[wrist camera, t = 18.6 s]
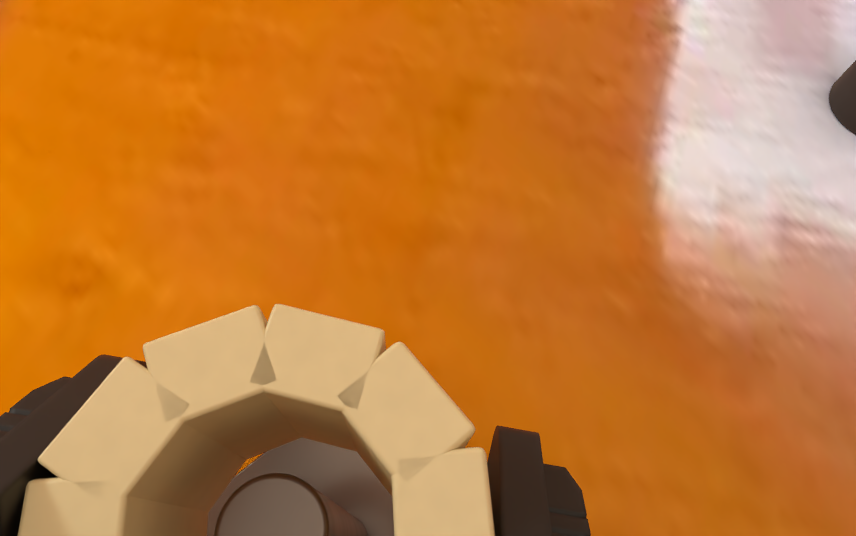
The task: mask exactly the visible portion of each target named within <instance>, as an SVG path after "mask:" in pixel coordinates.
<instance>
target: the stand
mask: <svg viewBox="0 0 856 536" xmlns="http://www.w3.org/2000/svg"><path fill="white" fill-rule="evenodd" d="M207 536H394V521H393V501H392V496H391V495H390V494H389V492H388V491H387V490H386V488H385V487H384V486H383V485H382V483H381V482H380V481H379V479H378V478H377V477H376V476H375V474H374V473H373V472H372V470H371V469H370V468H369V467H368V465H367V464H366V463H365V461H364V460H363V459H362V458H361V456H360V455H359V454H358V452H356V451H352V450H349V449H345V448H341V447H337V446H333V445H329V444H325V443H321V442H318V441H314V440H310V439H306V438H299V439H297V440H294V441H292V442H289V443H287V444H284V445H281V446H279V447H276V448H274V449H271V450H269V451H266V452H264V453H263V454H262V455H261V456H259V457H258V458H257V459H256V460H254V461H253V462H252V463H251V464H249V465H248V466H247V467H246V468H244V469H243V470H242V471H240V472H239V473H238V474H237V475H235V476H234V477H233V479H232V480H231V482H230V483H229V484H228V486H227V487H226V489H225V490H224V491H223V493H222V494H221V496H220V497H219V498H218V500H217V501H216V503H215V504H214V505H213V507H212V508H211V510H210V511H209V512H208V525H207Z"/></svg>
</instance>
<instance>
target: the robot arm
mask: <svg viewBox="0 0 856 536" xmlns="http://www.w3.org/2000/svg"><path fill="white" fill-rule="evenodd" d="M122 359H123V358H121V357H115V356H110V355H100V356H98V357H97V358H95V359H94V360H93V361H92V362H90V363H89V364H88V365H87V366H86V367H85V368H83V369H82V370H81V371H80V372H79V373H77V374H76V375H75V376H74V377H73V378H70V377H62V378H60V379H58V380H55V381H53V382H51V383H48V384H46V385H44V386H42V387H39V388H37V389H35V390H33V391H31V392H30V393H29V394H28V395H26V396H25V397H24V398H23V399H21V400H20V401H19V402H18V403H16V404H15V405H14V406H13V407H11V408H10V411H9V413H7V412H5V413H4V414H3V415H1V416H0V536H18V531H19V525H20V519H21V513H22V508H23V502H24V496H25V490H26V486H27V484H28V482H29V481H32V480H34V479H43V478H57V476H55V475H54V474H53V473H51V472H50V471H49V470H47V469H46V468H45V467H43V466H42V465H41V464H40V463H39V462H38V458H39V456H40V455H41V454H42V453H43V451H44V450H45V449H46V448H47V447H48V446H49V444H50V443H51V442H52V441H53V440H54V439H55V437H56V436H57V435H58V434H59V433H60V431H61V430H62V429H63V428H64V427H65V426H66V424H67V423H68V422H69V421H70V420H71V419H72V417H73V416H74V415H75V414H76V413H77V412H78V410H79V409H80V408H81V407H82V406H83V404H84V403H85V402H86V401H87V400H88V399H89V397H90V396H91V395H92V394H93V393H94V392H95V390H96V389H97V388H98V387H99V386H100V385H101V383H102V382H103V381H104V380H105V379H106V377H107V376H108V375H109V374H110V373H111V372H112V370H113V369H114V368H115V367H116V366H117V365H118V363H119V362H120V361H121V360H122ZM135 361H136V362H138V363H139V364H141V365H142V366H144V367H145V368H147V365H146V362H143V361H138V360H135ZM487 466H488V476H489V485H490V494H491V503H492V512H493V521H494V530H495V536H590V535H591V534H590V529H589V524H588V519H586V515H587V514H586V509H585V504H584V499H583V495H582V490H581V489H580V487H579V486H578V485H577V483H576V482H575V480H574V479H573V478H572V476H571V475H570V473H569V472H568V471H567V469H566V468H565V467H559V466H554V465H548V464H543V459H542V451H541V443H540V436H539V434H538V433H536V432H531V431H525V430H519V429H514V428H508V427H503V426H496V429H495V432H494V436H493V440H492V444H491V449H490V453H489V458H488V462H487Z"/></svg>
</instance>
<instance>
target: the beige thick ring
mask: <svg viewBox="0 0 856 536" xmlns="http://www.w3.org/2000/svg"><path fill="white" fill-rule="evenodd" d="M143 352H144V356H145V360H146V365H147V368H145V367H144V366H142V365H141V364H139V363H138V362H136V361H135V360H133V359H132V358H130V357H124V358H123V359H122V360H121V361H120V362H119V363H118V365H117V366H116V367H115V368H114V369H113V370H112V372H111V373H110V374H109V375H108V376H107V377H106V379H105V380H104V381H103V382H102V383H101V385H100V386H99V387H98V388H97V389H96V390H95V392H94V393H93V394H92V395H91V396H90V397H89V399H88V400H87V401H86V402H85V403H84V404H83V406H82V407H81V408H80V409H79V410H78V412H77V413H76V414H75V415H74V416H73V417H72V419H71V420H70V421H69V422H68V423H67V424H66V426H65V427H64V428H63V429H62V430H61V431H60V433H59V434H58V435H57V436H56V437H55V439H54V440H53V441H52V442H51V443H50V444H49V446H48V447H47V448H46V449H45V450H44V451H43V453H42V454H41V455H40V456H39V458H38V462H39V463H40V464H41V465H42V466H43V467H45V468H46V469H47V470H49V471H50V472H51V473H53V474H54V475H55V476H57V478H43V479H34V480H32V481H29V482H28V484H27V486H26V490H25V496H24V502H23V508H22V513H21V519H20V525H19V531H18V536H207V525H208V512H209V511H210V510H211V508H212V507H213V505H214V504H215V503H216V501H217V500H218V498H219V497H220V496H221V494H222V493H223V491H224V490H225V489H226V487H227V486H228V484H229V483H230V482H231V480H232V479H233V477H234V476H235V475H236V473H237V472H238V470H239V469H240V468H241V466H242V465H243V463H244V462H245V461H246V459H249V458H251V457H254V456H256V455H259V454H261V453H264V452H266V451H269V450H271V449H274V448H276V447H279V446H281V445H284V444H287V443H289V442H292V441H294V440H297V439H299V438H306V439H310V440H314V441H318V442H321V443H325V444H329V445H333V446H337V447H341V448H345V449H349V450H352V451H356V452H358V454H359V455H360V456H361V458H362V459H363V460H364V461H365V463H366V464H367V465H368V467H369V468H370V469H371V470H372V472H373V473H374V474H375V476H376V477H377V478H378V479H379V481H380V482H381V483H382V485H383V486H384V487H385V488H386V490H387V491H388V492H389V494H390V495H391V496H392V501H393V521H394V536H495V530H494V521H493V512H492V503H491V494H490V485H489V476H488V466H487V457H486V453H485V451H484V449H483V448H480V447H472V448H465V446H466V445H467V443H468V442H469V440H470V439H471V437H472V436H473V434H474V432H475V427H474V425H473V423H472V422H471V421H470V420H469V419H468V418H467V416H466V415H465V414H464V413H463V412H462V411H461V409H460V408H459V407H458V406H457V405H456V404H455V402H454V401H453V400H452V399H451V398H450V397H449V395H448V394H447V393H446V392H445V391H444V390H443V388H442V387H441V386H440V385H439V384H438V383H437V382H436V380H435V379H434V378H433V377H432V376H431V375H430V373H429V372H428V371H427V370H426V369H425V368H424V366H423V365H422V364H421V363H420V362H419V361H418V359H417V358H416V357H415V356H414V355H413V354H412V352H411V351H410V350H409V349H408V348H407V347H406V345H405V344H403V343H402V342H397V343H394V344H393V345H392V346H390V347H389V348H388V349H387V350H386V346H385V332H384V331H383V330H382V329H379V328H375V327H371V326H367V325H363V324H359V323H355V322H351V321H347V320H343V319H339V318H335V317H331V316H326V315H322V314H318V313H314V312H310V311H306V310H302V309H298V308H294V307H290V306H286V305H282V304H275V306H274V307H273V309H272V312H271V314H270V317H269V320H268V322H267V320H266V318H265V316H264V315H263V313H262V311H261V309H260V308H259V307H258V306H257V305H253V306H250V307H247V308H244V309H241V310H239V311H236V312H233V313H230V314H227V315H224V316H221V317H219V318H216V319H213V320H210V321H207V322H204V323H201V324H199V325H196V326H193V327H190V328H187V329H184V330H181V331H179V332H176V333H173V334H170V335H167V336H164V337H162V338H159V339H156V340H153V341H150V342H147V343H145V344H144V345H143Z"/></svg>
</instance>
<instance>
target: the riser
mask: <svg viewBox="0 0 856 536" xmlns="http://www.w3.org/2000/svg"><path fill="white" fill-rule="evenodd" d="M829 100H830V105H831V108H832V111H833V113H834V114H835V116H836V117H837V119H838V120H839V121H840V122H841V123H842V124H843V125H844V126H845V127H846V128H847V129H849V130H850V131H852V132H853V133H855V134H856V61H855V62H854V63H853V64H852V65H851V66H850V67H849V68H848V69H847V70H846V71H845V72H844V73H843V75H842V76H841V77H840V78H839V79H838V80H837V81H836V82H835V83H834V84H833V86H832V88H831V91H830V95H829Z"/></svg>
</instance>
